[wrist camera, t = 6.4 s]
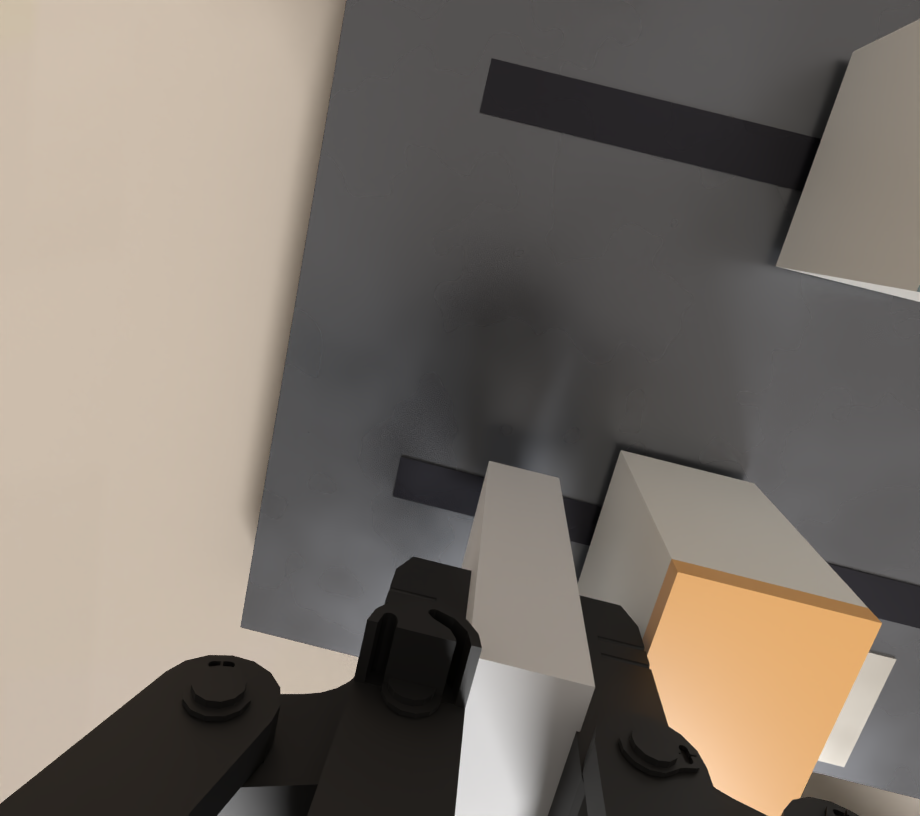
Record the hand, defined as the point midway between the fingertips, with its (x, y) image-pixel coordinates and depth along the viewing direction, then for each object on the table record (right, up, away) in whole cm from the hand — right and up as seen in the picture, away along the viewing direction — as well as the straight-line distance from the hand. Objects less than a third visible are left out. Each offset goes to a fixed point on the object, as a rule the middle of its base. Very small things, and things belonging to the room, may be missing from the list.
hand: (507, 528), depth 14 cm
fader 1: (+4, -1, +1) cm, 4 cm away
